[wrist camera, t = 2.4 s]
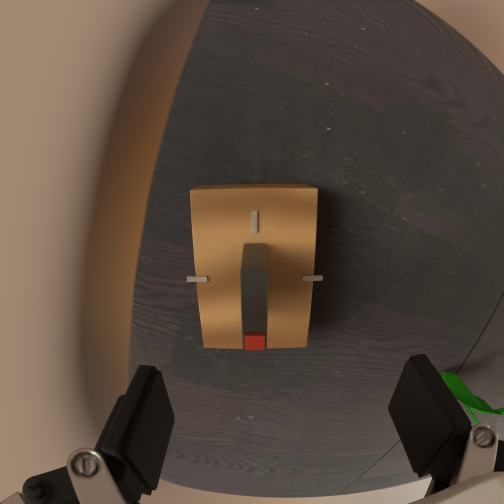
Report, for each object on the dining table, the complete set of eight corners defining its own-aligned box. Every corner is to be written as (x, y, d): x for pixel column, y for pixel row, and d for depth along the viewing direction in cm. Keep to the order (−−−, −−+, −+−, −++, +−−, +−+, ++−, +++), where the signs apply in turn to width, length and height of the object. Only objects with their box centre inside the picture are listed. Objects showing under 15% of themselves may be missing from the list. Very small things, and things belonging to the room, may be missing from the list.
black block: (243, 243, 18) (239, 272, 14) (265, 242, 18) (268, 271, 14) (245, 310, 20) (242, 353, 15) (264, 310, 20) (267, 352, 15)
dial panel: (190, 185, 20) (179, 190, 17) (317, 184, 20) (328, 189, 17) (202, 326, 24) (196, 348, 21) (308, 326, 24) (314, 348, 21)
